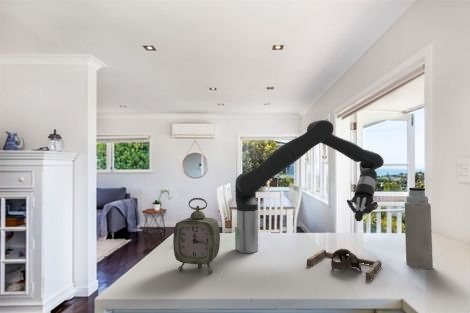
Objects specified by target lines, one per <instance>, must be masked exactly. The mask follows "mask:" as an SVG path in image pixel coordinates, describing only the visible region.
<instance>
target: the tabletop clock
mask: <svg viewBox="0 0 470 313" xmlns="http://www.w3.org/2000/svg"><path fill="white" fill-rule="evenodd" d="M196 200H197V201H199V200H200V201H203V203H205V206H203V207H200V206H199V205H196V207H193V206H191V205H190V204H191V202H193V201H196ZM188 207H189V208H190V209H191V210H193V211H192V212H191V214H190V215H189V217H187V218H184V219H183V220H180V221H178V222H176V223H175V226H174V229H173V241H172V242H173V243H172V244H173V254H174V258H175V260H176V261H177V262H179V263H181V265H180V266H179V267H178V268H177V270H178V271H179V272H182V271H183V269H184V266H185V264H188V265H197V268H198V269H201V268H203V265H206V266H207V268H208V269H207V273H208V274H209V275H211V274H213V269H212V268H211V265H210V264H211V262H213V260H215V258H217V257H218V254H219V252H220V243H221V232H220V225H219V222H218V220H217V219H214V218H212V217H206V215H205V213H204V212H203V211H202V210H205V209H206V208H207V207H208V202H207V200H206V199H204V198H202V197H193V198H191V199H189V201H188ZM194 210H195V211H194Z"/></svg>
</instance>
